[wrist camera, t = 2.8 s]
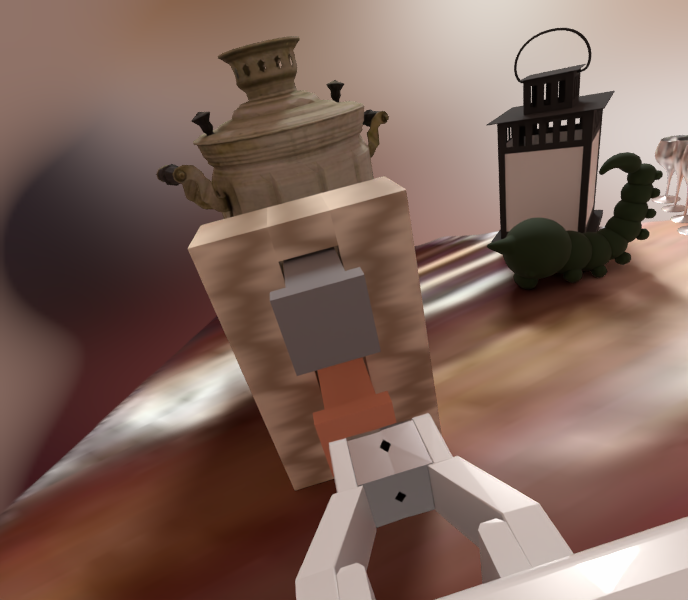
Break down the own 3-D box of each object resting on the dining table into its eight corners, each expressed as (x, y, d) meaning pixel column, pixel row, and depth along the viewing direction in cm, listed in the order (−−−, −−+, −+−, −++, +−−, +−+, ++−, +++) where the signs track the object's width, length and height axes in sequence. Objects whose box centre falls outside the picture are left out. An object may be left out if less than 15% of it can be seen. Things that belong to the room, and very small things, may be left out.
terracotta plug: (374, 380, 38) (363, 333, 35) (403, 455, 30) (391, 401, 27) (319, 396, 38) (303, 350, 35) (333, 477, 29) (314, 424, 27)
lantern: (602, 215, 80) (622, 11, 64) (591, 250, 69) (612, 12, 53) (513, 216, 90) (511, 40, 74) (491, 246, 79) (483, 46, 63)
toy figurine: (611, 258, 68) (473, 282, 67) (634, 143, 60) (476, 168, 58) (655, 280, 60) (498, 307, 59) (690, 150, 51) (507, 180, 50)
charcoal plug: (353, 291, 33) (339, 229, 31) (381, 351, 25) (364, 274, 22) (289, 309, 33) (269, 248, 30) (296, 376, 25) (269, 300, 22)
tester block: (422, 406, 46) (384, 176, 33) (443, 445, 41) (406, 189, 28) (291, 445, 45) (200, 225, 32) (294, 490, 40) (187, 248, 27)
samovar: (373, 278, 78) (326, 47, 60) (460, 334, 56) (428, -4, 38) (230, 338, 70) (123, 92, 51) (266, 431, 48) (101, 60, 29)
